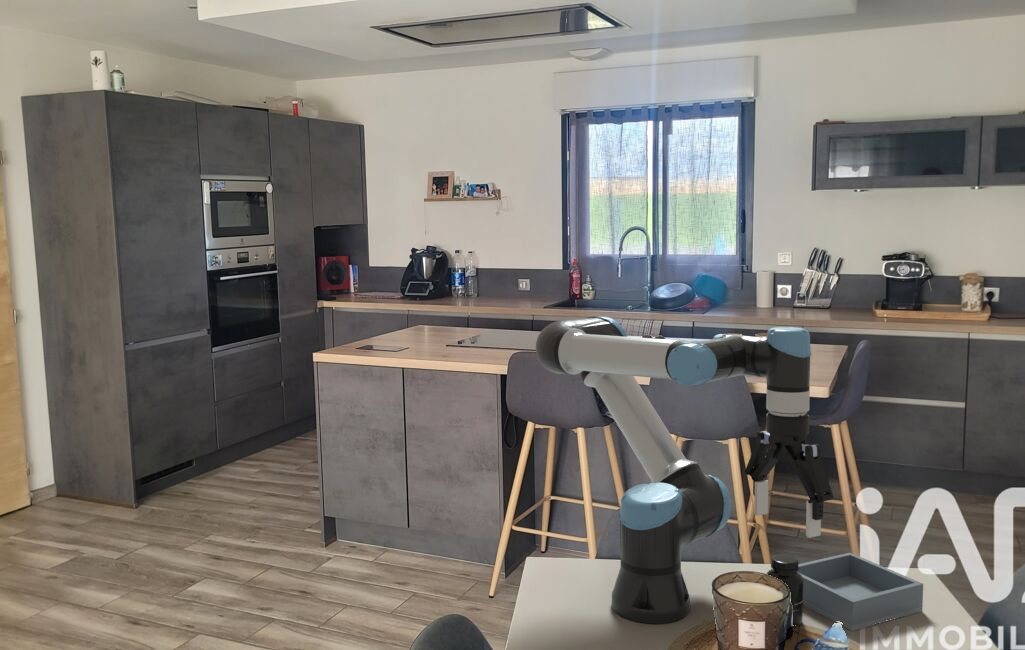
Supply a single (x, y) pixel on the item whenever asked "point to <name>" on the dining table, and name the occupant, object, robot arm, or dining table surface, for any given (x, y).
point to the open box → (858, 591)
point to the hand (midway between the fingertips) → (786, 524)
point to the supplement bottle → (790, 581)
